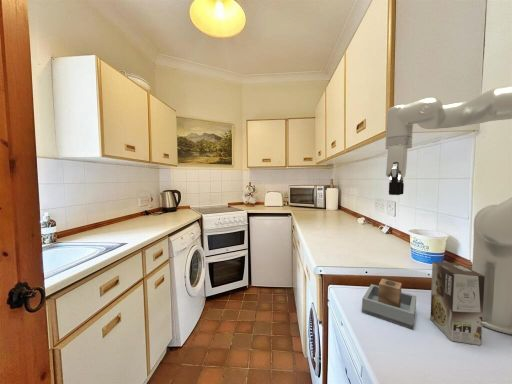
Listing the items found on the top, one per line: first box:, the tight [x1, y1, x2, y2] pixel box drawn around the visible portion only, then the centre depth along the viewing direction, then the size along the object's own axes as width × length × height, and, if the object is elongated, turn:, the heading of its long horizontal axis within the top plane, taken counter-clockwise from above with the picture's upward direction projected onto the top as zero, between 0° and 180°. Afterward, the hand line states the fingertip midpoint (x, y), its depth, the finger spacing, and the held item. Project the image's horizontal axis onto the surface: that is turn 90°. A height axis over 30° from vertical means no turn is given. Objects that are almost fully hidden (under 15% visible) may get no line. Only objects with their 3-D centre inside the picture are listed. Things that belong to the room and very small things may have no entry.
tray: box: [361, 283, 417, 331], centre depth 65 cm, size 12×12×4 cm
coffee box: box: [429, 261, 485, 346], centre depth 56 cm, size 9×6×16 cm
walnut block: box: [378, 278, 403, 308], centre depth 65 cm, size 5×5×7 cm
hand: (396, 194), depth 76 cm, fingers open, 9 cm apart
